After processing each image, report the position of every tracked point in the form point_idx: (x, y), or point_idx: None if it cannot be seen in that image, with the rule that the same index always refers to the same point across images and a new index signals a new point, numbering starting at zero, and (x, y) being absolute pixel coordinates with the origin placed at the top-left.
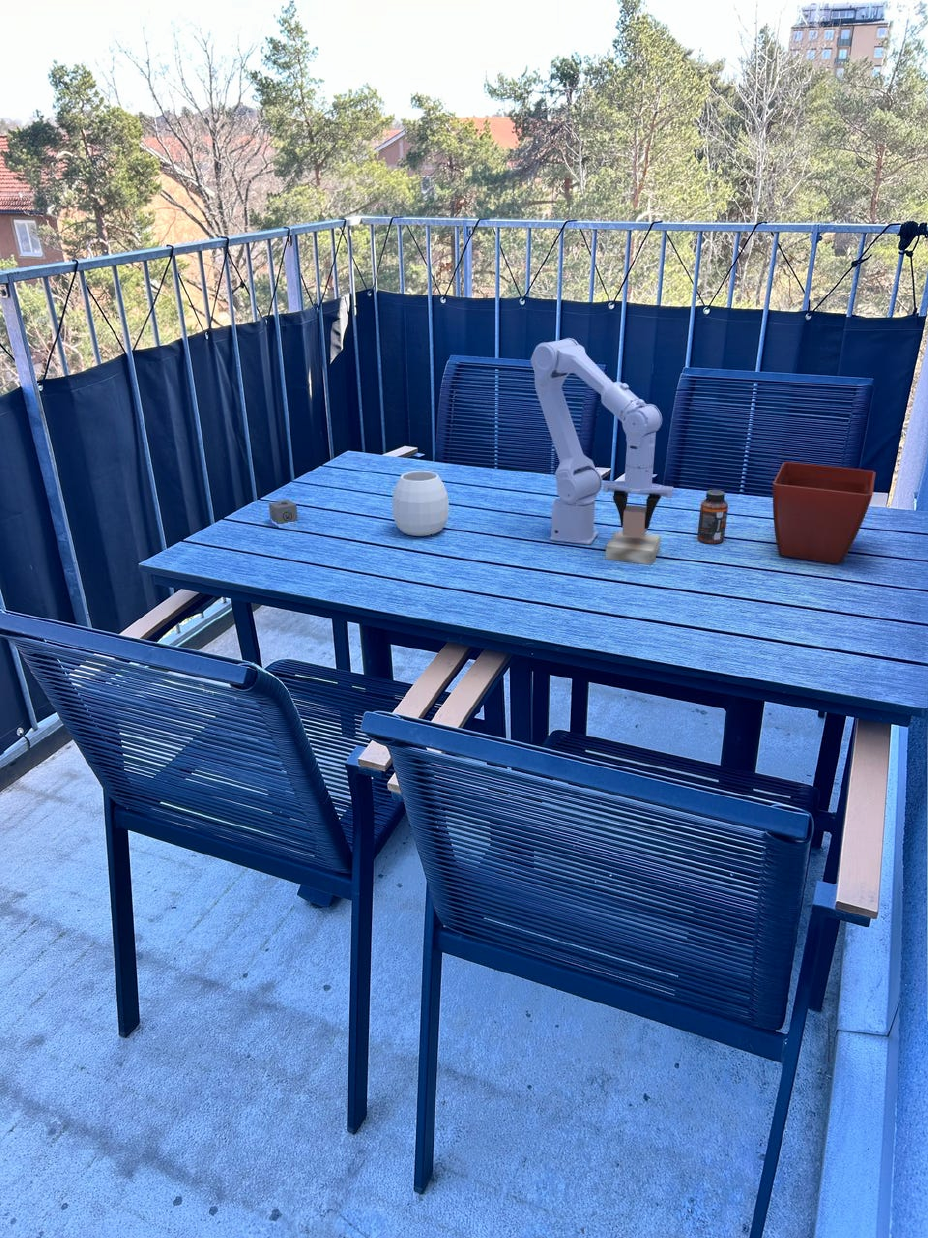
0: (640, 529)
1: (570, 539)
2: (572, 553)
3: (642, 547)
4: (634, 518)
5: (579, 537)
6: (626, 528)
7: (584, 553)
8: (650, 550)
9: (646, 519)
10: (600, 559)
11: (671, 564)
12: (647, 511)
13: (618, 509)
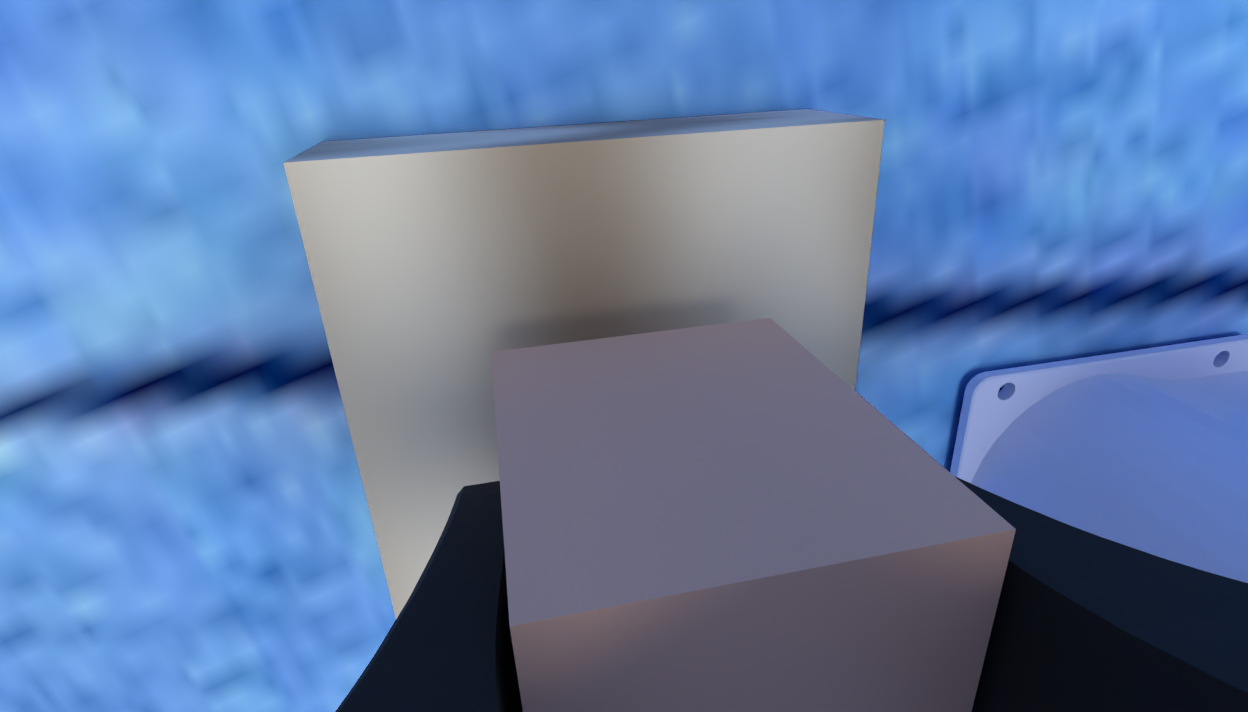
0: (548, 399)
1: (1128, 374)
2: (1096, 133)
3: (466, 246)
4: (711, 479)
5: (1083, 399)
6: (762, 366)
7: (999, 176)
8: (328, 178)
9: (480, 567)
10: (852, 79)
11: (125, 231)
12: (461, 708)
13: (1126, 553)
